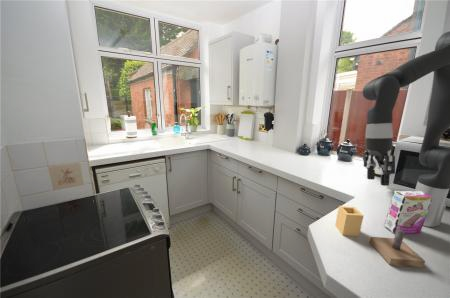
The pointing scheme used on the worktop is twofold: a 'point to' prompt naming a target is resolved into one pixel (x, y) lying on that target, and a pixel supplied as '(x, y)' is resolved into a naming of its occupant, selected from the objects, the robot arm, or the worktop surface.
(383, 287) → the worktop surface
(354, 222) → the sleeve
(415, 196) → the candy bar box
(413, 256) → the post stand
